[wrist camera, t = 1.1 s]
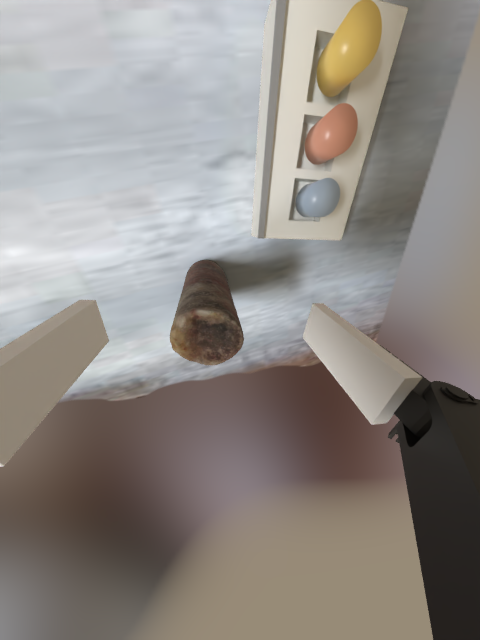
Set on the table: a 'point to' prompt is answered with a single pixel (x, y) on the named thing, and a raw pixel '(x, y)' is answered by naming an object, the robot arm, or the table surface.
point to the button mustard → (350, 48)
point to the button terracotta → (331, 134)
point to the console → (311, 114)
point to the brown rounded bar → (206, 317)
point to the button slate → (318, 198)
